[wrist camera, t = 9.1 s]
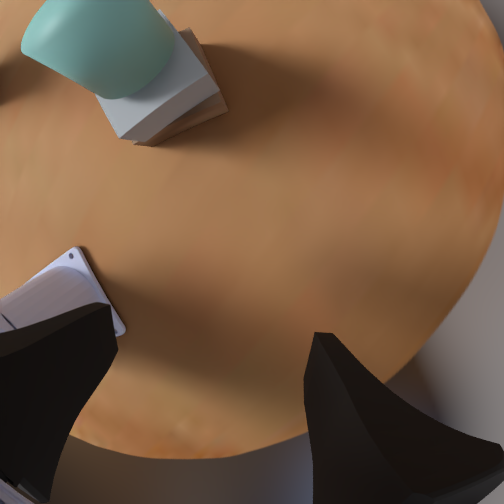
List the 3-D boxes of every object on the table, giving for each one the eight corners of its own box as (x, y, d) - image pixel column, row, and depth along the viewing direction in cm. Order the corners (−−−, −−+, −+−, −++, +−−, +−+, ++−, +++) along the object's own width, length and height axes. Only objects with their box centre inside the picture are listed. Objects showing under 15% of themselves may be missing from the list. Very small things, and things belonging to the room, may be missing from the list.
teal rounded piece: (82, 105, 10) (6, 69, 5) (110, 33, 10) (53, -14, 5) (159, 94, 10) (81, 29, 5) (185, 15, 9) (137, -54, 4)
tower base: (153, 147, 17) (133, 144, 14) (130, 81, 16) (109, 70, 13) (229, 112, 16) (221, 101, 13) (201, 45, 15) (189, 27, 12)
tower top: (145, 142, 14) (119, 138, 11) (110, 81, 13) (82, 70, 10) (220, 90, 13) (208, 73, 10) (177, 31, 12) (159, 9, 9)
